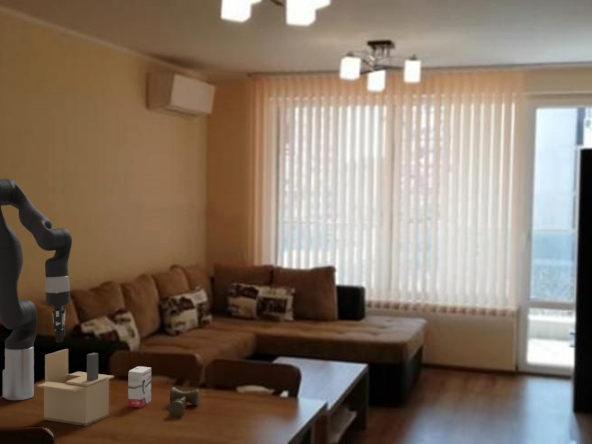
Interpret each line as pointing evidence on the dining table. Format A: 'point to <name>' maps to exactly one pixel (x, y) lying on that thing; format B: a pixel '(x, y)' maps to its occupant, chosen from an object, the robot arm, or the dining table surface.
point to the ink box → (139, 386)
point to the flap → (89, 373)
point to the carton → (72, 394)
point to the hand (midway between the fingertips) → (60, 339)
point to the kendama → (182, 401)
